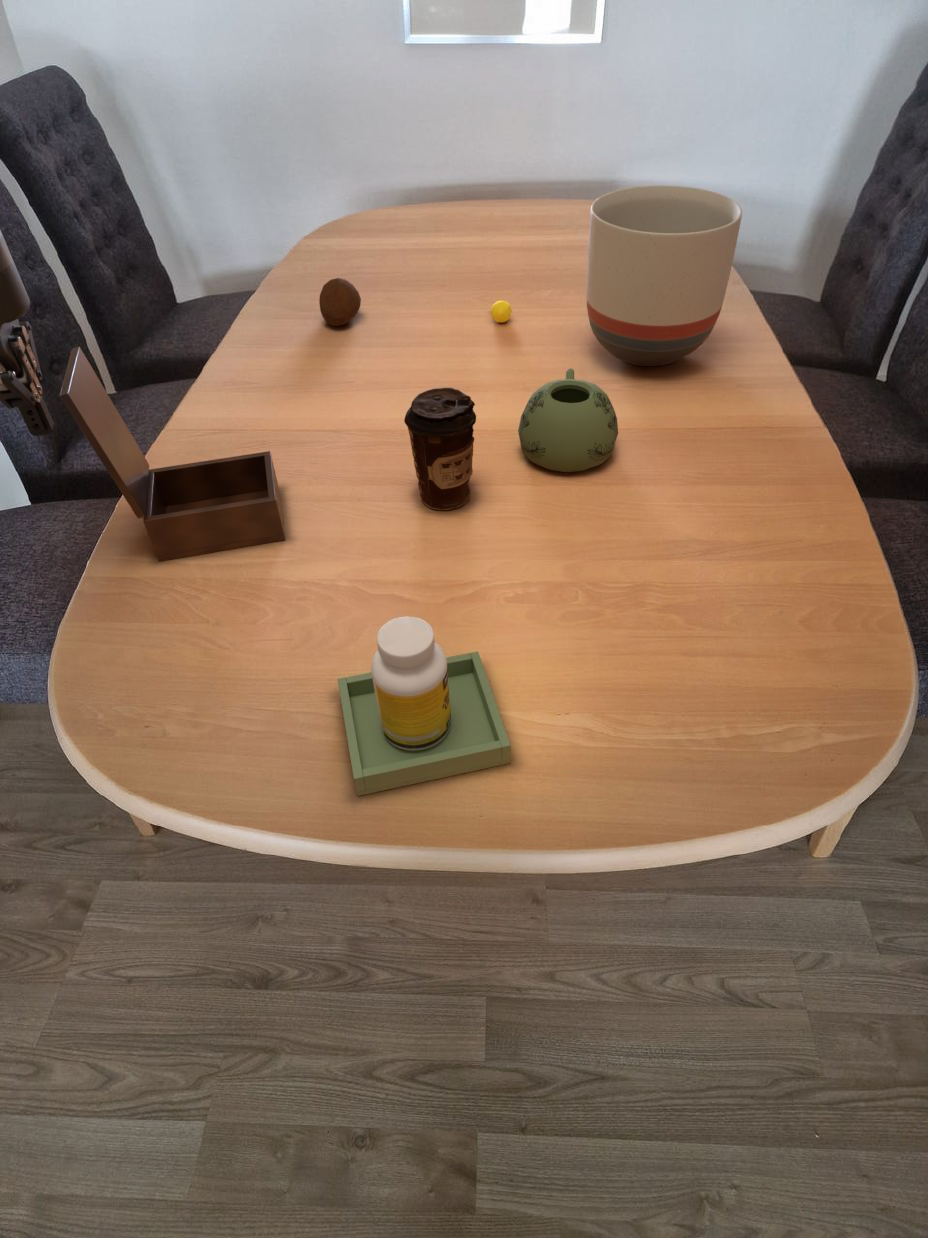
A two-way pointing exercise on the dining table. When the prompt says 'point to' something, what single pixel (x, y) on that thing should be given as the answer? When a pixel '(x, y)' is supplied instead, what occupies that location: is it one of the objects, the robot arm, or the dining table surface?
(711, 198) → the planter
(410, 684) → the pill bottle
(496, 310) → the yellow rounded lump
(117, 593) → the dining table surface
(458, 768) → the tray
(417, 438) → the coffee cup
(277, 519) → the brown wooden box
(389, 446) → the dining table surface
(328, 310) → the potato
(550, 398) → the green ceramic domed vessel
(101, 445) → the lid
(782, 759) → the dining table surface
